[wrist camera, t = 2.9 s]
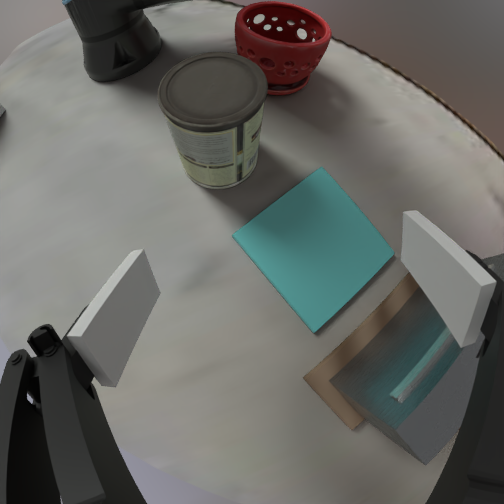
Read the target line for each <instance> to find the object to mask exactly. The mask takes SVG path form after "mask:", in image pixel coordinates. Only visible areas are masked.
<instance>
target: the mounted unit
mask: <svg viewBox="0 0 504 504" xmlns="http://www.w3.org/2000/svg"><path fill="white" fill-rule="evenodd" d="M481 260H482V261H483V263H485V264H486V265H487V266H488V268H490V269H491V270H493V271H494V272H495V273H496V274H497V275H498V276H499V277H500V278H501V279H502V280H503V281H504V254H500V255H496V256H493V257H489V258H485V259H481ZM484 338H485V336H484V335H483V333H482V332H481V330H480V333H479V335H478V338H477V340H476V343H473V344H470V345H467V346H465V347H462V348H461V347H460V346H459V344H458V343H457V341H456V339H455V338H454V336H453V334H452V333H451V331H450V330H449V328H448V327H447V325H446V324H445V322H444V320H443V319H442V317H441V316H440V314H439V313H438V311H437V310H436V308H435V307H434V306H433V304H432V303H431V301H430V300H429V298H428V297H427V295H426V294H425V293H424V291H423V290H422V288H421V287H420V286H419V284H418V283H417V282H416V280H415V279H414V277H413V276H412V275H411V273H410V272H409V273H408V274H407V275H406V276H405V277H404V279H403V280H402V281H401V282H400V283H399V284H398V285H397V287H396V288H395V289H394V290H393V291H392V292H391V293H390V294H389V295H388V297H387V298H386V299H385V300H384V301H383V302H382V303H381V304H380V305H379V306H378V307H377V308H376V309H375V310H374V311H373V312H372V314H371V315H370V316H369V317H368V318H367V319H366V320H365V321H364V322H363V323H362V324H361V325H360V326H359V327H358V328H357V329H356V330H355V331H354V332H353V333H352V334H351V335H350V336H349V337H347V338H346V339H345V340H344V341H343V342H342V343H341V344H340V345H339V346H338V347H337V348H336V349H335V350H334V351H333V352H331V353H330V354H329V355H328V356H327V357H326V358H325V359H324V360H323V361H322V362H320V363H319V364H318V365H317V366H316V367H315V368H314V369H312V370H311V371H310V372H309V373H308V374H307V375H305V376H304V377H303V379H304V380H305V381H306V382H307V383H308V384H309V385H310V386H311V387H312V388H313V390H314V391H315V392H316V393H317V394H318V395H319V396H320V397H321V398H322V399H323V401H324V402H325V403H326V404H327V405H328V406H329V407H330V408H331V409H332V410H333V411H334V412H335V413H336V414H337V416H338V417H339V418H340V419H341V420H342V421H343V422H344V423H345V424H346V425H347V426H348V427H349V428H350V429H351V430H353V429H354V428H355V427H356V426H357V425H359V424H360V423H361V422H362V421H363V420H364V419H366V420H367V421H368V422H370V423H371V424H372V425H373V426H375V427H376V428H377V429H378V430H380V431H381V432H382V433H383V434H385V435H386V436H387V437H389V438H390V439H391V440H392V441H394V442H395V443H396V444H398V445H399V446H400V447H402V448H403V449H404V450H405V451H407V452H408V453H409V454H411V455H412V456H413V457H415V458H416V459H417V460H419V461H420V462H422V463H423V464H424V465H427V464H428V463H429V462H430V461H431V460H432V459H433V458H434V457H435V456H436V454H437V453H438V452H439V451H440V450H441V449H442V448H443V447H444V446H445V445H446V444H447V442H448V441H449V440H450V439H451V438H452V437H453V435H454V434H455V433H456V432H457V431H458V430H459V428H460V427H461V424H462V421H463V418H464V415H465V412H466V409H467V406H468V402H469V399H470V395H471V392H472V388H473V384H474V380H475V376H476V372H477V367H478V362H479V358H476V356H477V354H478V352H479V350H480V347H481V345H482V343H483V340H484ZM479 357H480V356H479Z"/></svg>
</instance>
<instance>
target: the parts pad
mask: <svg viewBox="0 0 504 504" xmlns="http://www.w3.org/2000/svg"><path fill="white" fill-rule="evenodd" d="M232 237H233V238H234V239H235V241H236V242H237V243H238V244H239V245H240V247H241V248H242V249H243V250H244V251H245V253H246V254H247V255H248V256H249V257H250V259H251V260H252V261H253V262H254V263H255V265H256V266H257V267H258V268H259V269H260V271H261V272H262V273H263V274H264V275H265V277H266V278H267V279H268V280H269V281H270V283H271V284H272V285H273V286H274V287H275V289H276V290H277V291H278V292H279V293H280V294H281V296H282V297H283V298H284V299H285V300H286V302H287V303H288V304H289V305H290V306H291V308H292V309H293V310H294V311H295V312H296V314H297V315H298V316H299V317H300V318H301V320H302V321H303V322H304V323H305V324H306V325H307V327H308V328H309V329H310V330H311V331H312V332H313V333H315V332H316V331H317V330H318V329H319V328H320V327H321V326H322V325H323V324H325V323H326V322H327V321H328V320H329V319H330V318H331V317H332V316H333V315H334V314H335V313H336V312H337V311H338V310H340V309H341V308H342V307H343V306H344V305H345V304H346V303H347V302H348V301H349V300H350V299H351V298H352V297H353V296H354V295H355V294H356V293H357V292H358V291H359V290H360V289H361V288H362V287H363V286H364V285H365V284H366V283H367V282H368V281H369V280H370V279H371V278H372V277H373V276H374V275H375V274H376V273H377V272H378V271H379V270H380V269H381V267H382V266H383V265H384V264H385V263H386V262H387V261H388V260H389V259H390V258H391V257H392V256H393V255H394V251H393V250H392V249H391V247H390V246H389V245H388V243H387V242H386V241H385V240H384V238H383V237H382V236H381V234H380V233H379V232H378V231H377V229H376V228H375V227H374V226H373V224H372V223H371V222H370V221H369V220H368V218H367V217H366V216H365V215H364V214H363V212H362V211H361V210H360V209H359V208H358V206H357V205H356V204H355V203H354V202H353V201H352V199H351V198H350V197H349V196H348V195H347V194H346V193H345V191H344V190H343V189H342V188H341V187H340V186H339V185H338V184H337V183H336V181H335V180H334V179H333V178H332V177H331V176H330V175H329V174H328V173H327V172H326V171H325V169H324V168H323V167H320V168H319V169H318V170H316V171H315V172H314V173H312V174H311V175H310V176H308V177H307V178H306V179H304V180H303V181H302V182H300V183H299V184H298V185H296V186H295V187H294V188H292V189H291V190H290V191H288V192H287V193H286V194H284V195H283V196H282V197H280V198H279V199H278V200H277V201H275V202H274V203H273V204H271V205H270V206H269V207H267V208H266V209H265V210H264V211H262V212H261V213H260V214H258V215H257V216H256V217H255V218H253V219H252V220H251V221H249V222H248V223H247V224H246V225H244V226H243V227H242V228H240V229H239V230H238V231H237V232H235V233H234V234H233V235H232Z"/></svg>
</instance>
